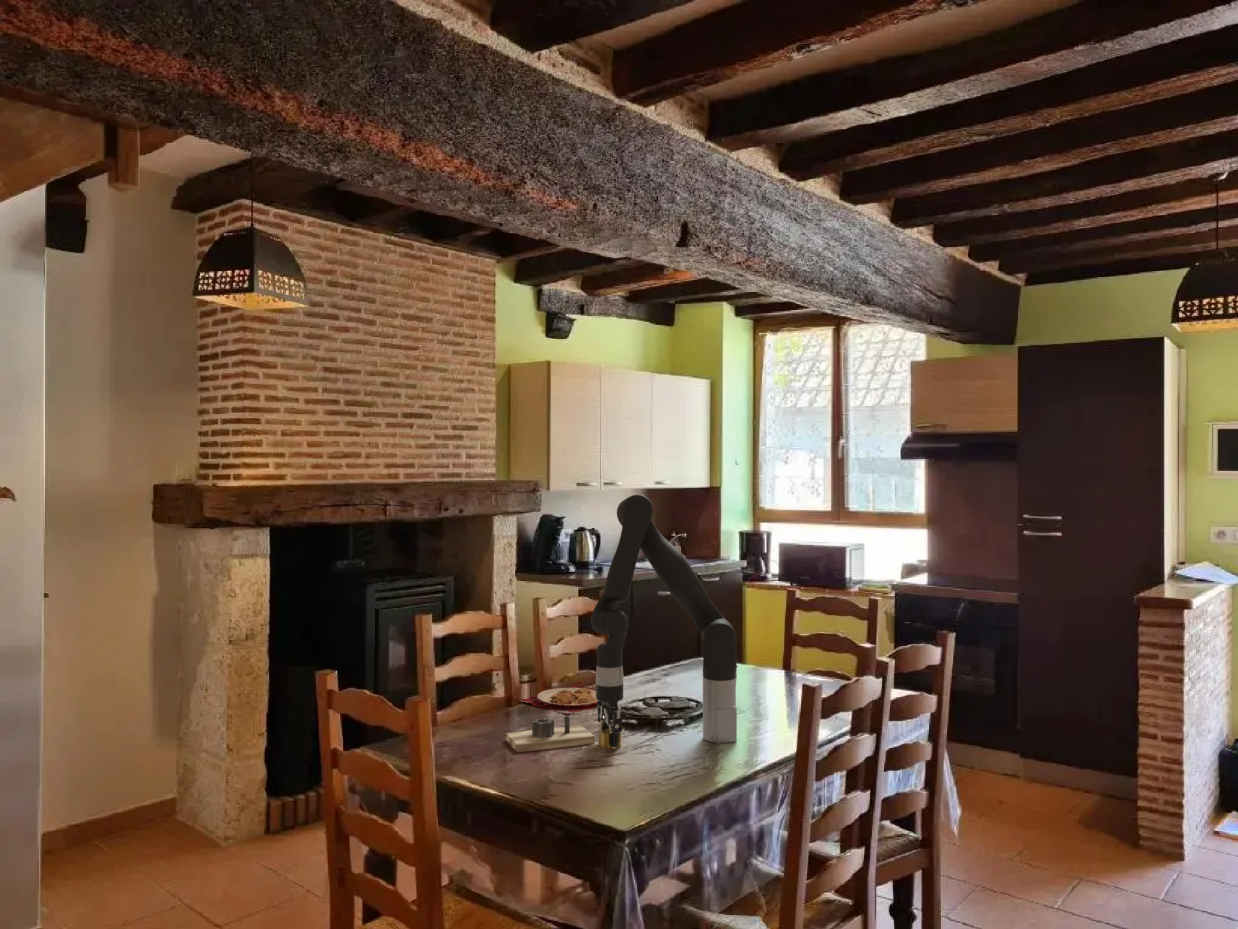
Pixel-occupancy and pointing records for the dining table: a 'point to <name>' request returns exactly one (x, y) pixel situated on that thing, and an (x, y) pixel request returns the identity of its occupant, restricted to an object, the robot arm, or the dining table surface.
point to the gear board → (549, 736)
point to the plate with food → (565, 698)
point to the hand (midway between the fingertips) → (609, 743)
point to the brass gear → (607, 739)
